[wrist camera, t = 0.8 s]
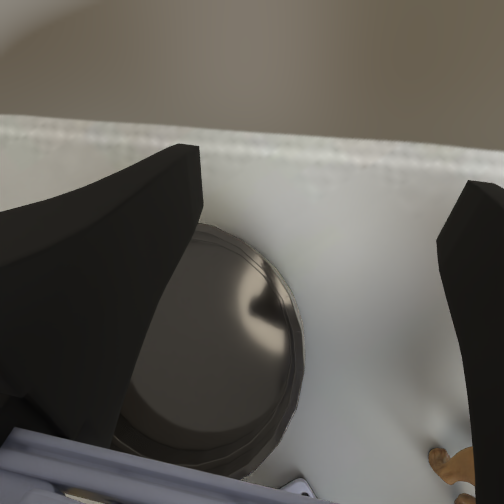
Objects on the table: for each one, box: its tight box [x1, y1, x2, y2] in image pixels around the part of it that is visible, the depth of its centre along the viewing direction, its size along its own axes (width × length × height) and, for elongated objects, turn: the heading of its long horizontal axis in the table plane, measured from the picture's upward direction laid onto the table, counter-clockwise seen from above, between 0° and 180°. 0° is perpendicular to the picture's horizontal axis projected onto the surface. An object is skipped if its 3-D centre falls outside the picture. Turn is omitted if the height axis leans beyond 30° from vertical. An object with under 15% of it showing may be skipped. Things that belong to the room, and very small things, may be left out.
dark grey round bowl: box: [110, 223, 305, 480], centre depth 23 cm, size 16×16×4 cm
